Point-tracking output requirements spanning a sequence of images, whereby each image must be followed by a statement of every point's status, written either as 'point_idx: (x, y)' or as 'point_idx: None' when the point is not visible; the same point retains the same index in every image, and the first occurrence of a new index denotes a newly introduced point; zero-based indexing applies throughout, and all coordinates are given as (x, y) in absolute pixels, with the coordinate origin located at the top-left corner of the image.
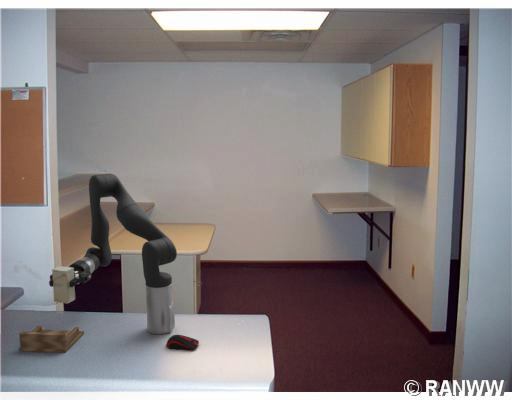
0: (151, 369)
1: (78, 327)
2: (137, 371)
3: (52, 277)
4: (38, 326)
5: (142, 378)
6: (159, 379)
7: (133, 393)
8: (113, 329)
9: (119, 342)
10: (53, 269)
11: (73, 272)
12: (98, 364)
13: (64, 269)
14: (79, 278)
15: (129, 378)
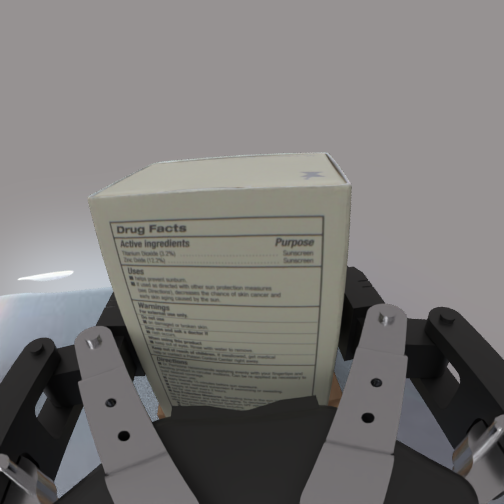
0: (10, 314)
1: (159, 414)
2: (29, 309)
3: (427, 331)
4: (336, 394)
5: (28, 297)
6: (10, 297)
7: (47, 275)
8: (60, 484)
9: (42, 400)
10: (314, 154)
11: (106, 251)
12: (88, 320)
13: (188, 164)
14: (76, 355)
15: (44, 295)
